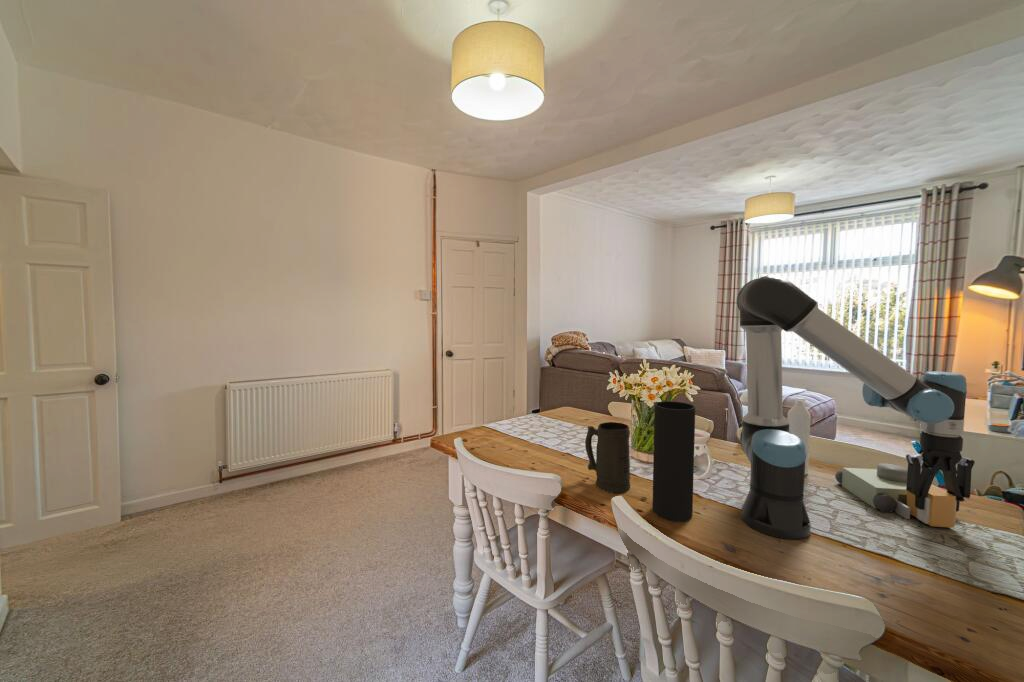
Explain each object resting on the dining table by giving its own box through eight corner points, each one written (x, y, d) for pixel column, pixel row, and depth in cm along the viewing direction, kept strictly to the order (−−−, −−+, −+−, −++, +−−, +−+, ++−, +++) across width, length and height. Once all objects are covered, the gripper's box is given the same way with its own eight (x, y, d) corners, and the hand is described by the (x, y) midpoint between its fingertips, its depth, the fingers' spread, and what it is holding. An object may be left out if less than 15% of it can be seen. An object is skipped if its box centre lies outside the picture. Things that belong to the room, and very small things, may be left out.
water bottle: (807, 476, 136) (810, 403, 135) (784, 472, 140) (787, 400, 139) (809, 469, 143) (812, 398, 141) (787, 464, 147) (790, 396, 145)
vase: (656, 500, 120) (658, 399, 118) (694, 509, 115) (697, 403, 112) (649, 516, 111) (651, 407, 109) (689, 525, 106) (692, 411, 104)
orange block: (931, 526, 103) (932, 495, 103) (906, 511, 111) (907, 482, 111) (954, 527, 103) (956, 496, 102) (927, 512, 111) (929, 483, 110)
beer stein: (637, 484, 131) (633, 422, 131) (627, 496, 122) (623, 430, 122) (591, 477, 140) (588, 419, 139) (579, 488, 131) (575, 426, 130)
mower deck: (884, 517, 110) (886, 484, 109) (834, 483, 131) (836, 455, 131) (966, 522, 107) (968, 489, 106) (901, 487, 128) (902, 459, 128)
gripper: (912, 436, 101) (906, 526, 103) (998, 439, 98) (991, 532, 100) (889, 427, 109) (885, 512, 110) (969, 430, 106) (963, 517, 107)
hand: (935, 521), depth 105 cm, fingers closed on orange block, 5 cm apart
